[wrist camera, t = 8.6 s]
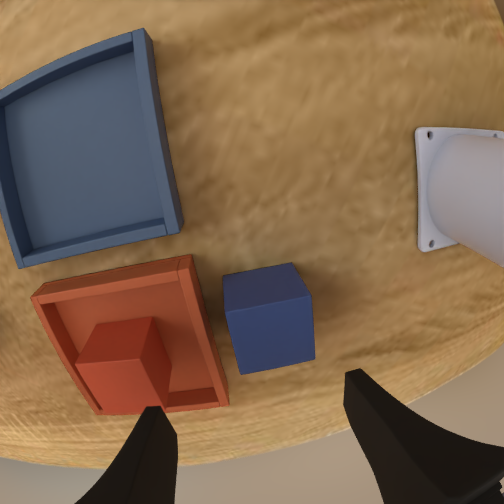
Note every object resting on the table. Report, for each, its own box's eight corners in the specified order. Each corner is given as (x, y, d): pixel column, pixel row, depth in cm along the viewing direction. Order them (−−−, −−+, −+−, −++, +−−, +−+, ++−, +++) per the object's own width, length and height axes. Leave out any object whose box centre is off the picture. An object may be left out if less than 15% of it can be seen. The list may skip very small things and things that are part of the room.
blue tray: (152, 39, 12) (144, 27, 10) (184, 222, 16) (179, 233, 14) (2, 102, 12) (-18, 101, 10) (34, 257, 15) (18, 269, 14)
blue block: (292, 261, 17) (311, 295, 14) (298, 319, 19) (315, 359, 15) (222, 275, 17) (224, 312, 13) (235, 332, 19) (240, 375, 15)
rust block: (153, 315, 17) (140, 359, 13) (172, 365, 18) (166, 411, 15) (95, 323, 17) (74, 364, 13) (118, 371, 18) (105, 413, 15)
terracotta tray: (191, 253, 17) (188, 268, 15) (228, 385, 20) (229, 406, 18) (43, 283, 16) (29, 297, 14) (102, 397, 20) (96, 415, 18)
